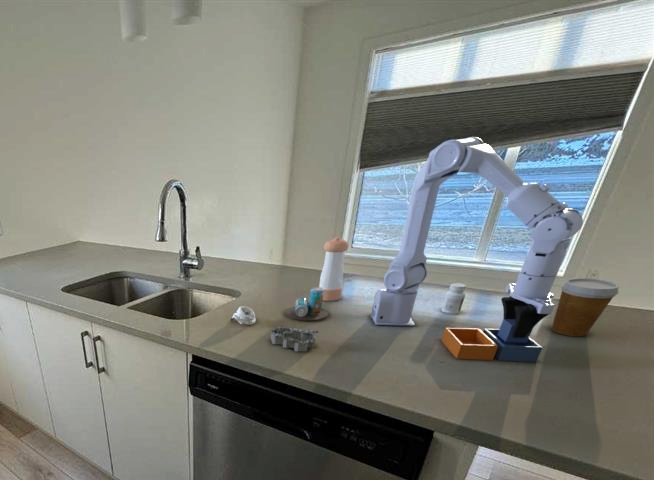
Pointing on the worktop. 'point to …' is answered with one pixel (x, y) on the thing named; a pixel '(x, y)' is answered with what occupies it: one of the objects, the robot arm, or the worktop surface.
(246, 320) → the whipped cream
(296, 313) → the round serving tray
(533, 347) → the blue bin
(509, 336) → the blue block
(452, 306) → the pill bottle
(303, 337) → the egg carton
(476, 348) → the amber bin
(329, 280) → the pepper shaker
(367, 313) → the worktop surface
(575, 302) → the disposable coffee cup
